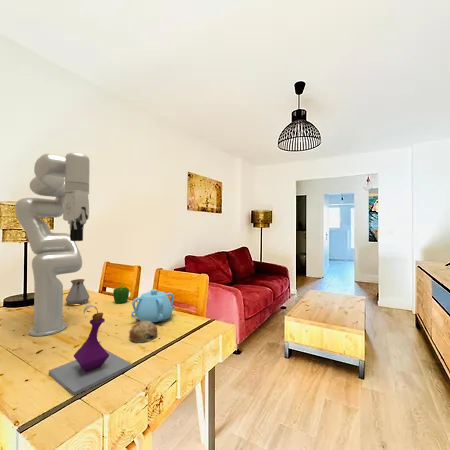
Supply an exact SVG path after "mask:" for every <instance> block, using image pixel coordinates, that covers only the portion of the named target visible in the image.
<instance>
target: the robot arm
mask: <svg viewBox="0 0 450 450" xmlns="http://www.w3.org/2000/svg"><path fill="white" fill-rule="evenodd" d="M90 164H91V163H90V158H89V156H87V154H83V153H79V152H68V153H66V155H65V156H63V155H58V154H53V153H44V154H42V155H41V156H40V157H38V158H37V159H36V161H35V163H34V167H33V168H34V170H33V171H34V174H35V175H34V176H35V177H33V178H32V179H31V181H30V182H29V189H30V191H31V192H32V193H34V194H36V195H38V196H43V197H54V198H55V199H51V198H41V197H40V198H39V197H25V198H24V197H23V198H21V199H18V200H17V201H16V203H15V206H14V211H15V215H16V219H17V221H18V223H19V224H20V226H21V227H22V229H23V230H24V231H25V234H26V236H27V240H28V242H29V246H30V249H31V252H33V254H34V255H35V256H34V257H33V258H32V261H31V268H32V272H33V273H32V274H33V283H34V289H33V290H34V292H33V293H34V295H33V296H34V297H33V299H34V300H33V301H34V302H33V303H34V305H33V309H34V310H33V327H31V328H30V329H29V330H28V335H30V336H32V337H42V336H44V337H45V336H49V335H53V334H56V333H59V332H62V331H63V330H65V329H66V328H67V326H68V324H67V322H65V321H63V313H64V312H63V311H64V310H63V309H64V308H63V307H64V306H63V304H64V302H63V301H64V300H63V298H64V285H63V283H62V281H61V280H60V279H59V278H58V277H57V276H60V275H63V274H65V275H66V274H73V273H76V272H78V271H81V269H82V267H83V259H82V256H81V253H80V250H79V248H78V246H77V244H76V243H77V242H83V240H84V229H85V227H84V226H85V224H86V223H87V221H88V219H90V202H89V201H90V200H89V195H90ZM61 216H62V219H63V220H64V221H67V223H68V225H69V233H65V232H52V231H51V229H50V226H49V225H48V223H46V222H45V221H44V220H42V219H41V218H53V219H55V218H59V217H61Z"/></svg>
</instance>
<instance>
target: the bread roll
mask: <svg viewBox="0 0 450 450" xmlns="http://www.w3.org/2000/svg"><path fill="white" fill-rule="evenodd" d="M128 334H129V340H130V341H132V342H133V343H142V344H143V343H149V342H151V341H152V340H154V339H155V338H157V337H158V327H157V326H156V325H155V323H154V322H151V321H140V320H139V321H138V322H136V323H135V324H134V325H133V326H131V329H130V330H129V331H128Z"/></svg>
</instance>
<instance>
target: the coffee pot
mask: <svg viewBox="0 0 450 450" xmlns="http://www.w3.org/2000/svg"><path fill="white" fill-rule="evenodd" d="M84 281H85V279H84V278H76V279H72V280H70V283H71V287H70V290H69V292H68V294H67V296H66V298H65V302H66V304H69V305H70V304H81V305H83V304H82V303H84V304H86V303H87V302H88V301H89V299H90V295H89V292H88V290H87V289H86V287H85V286H86V285H84ZM85 302H86V303H85Z"/></svg>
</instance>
